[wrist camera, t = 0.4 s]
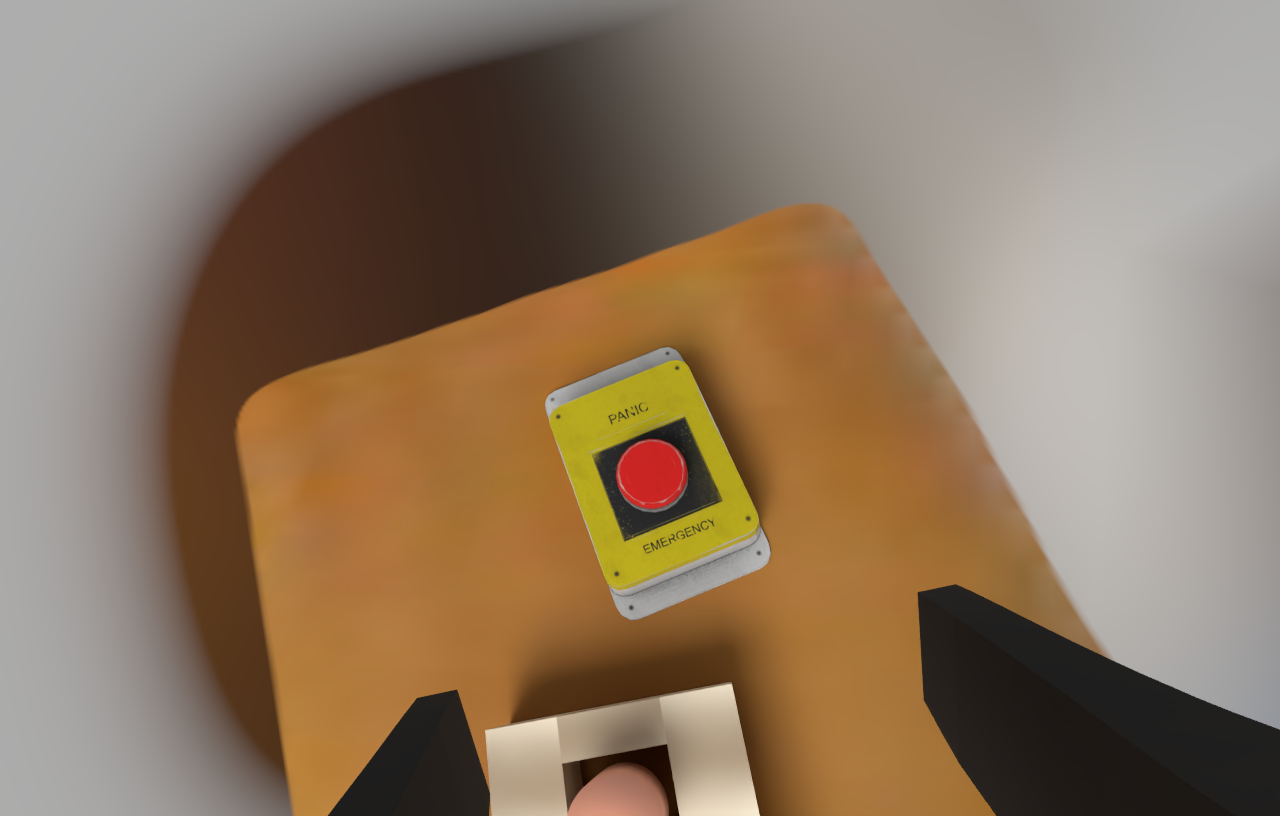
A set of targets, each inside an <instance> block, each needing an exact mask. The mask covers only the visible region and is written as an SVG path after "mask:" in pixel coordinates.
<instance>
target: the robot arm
mask: <svg viewBox="0 0 1280 816" xmlns="http://www.w3.org/2000/svg"><path fill="white" fill-rule="evenodd" d="M918 606H919V623H920V641H921V658H922V675H923V693H924V701H925V703H926V705H927V706H928V708H929V710H930V712H931V714H932V716H933V717H934V719H935V721H936V723H937V725H938V727H939V729H940V730H941V732H942V734H943V736H944V738H945V739H946V741H947V743H948V744H949V746H950V748H951V750H952V751H953V753H954V755H955V757H956V758H957V760H958V762H959V764H960V765H961V766H962V768H963V769H964V771H965V772H966V774H967V775H968V776H969V778H970V779H971V781H972V782H973V784H974V785H975V786H976V788H977V789H978V791H979V792H980V793H981V795H982V796H983V798H984V799H985V800H986V802H987V803H988V805H989V806H990V807H991V809H992V810H993V812H994V813H995V814H996V816H1280V730H1279V729H1276V728H1274V727H1271V726H1268V725H1266V724H1263V723H1260V722H1258V721H1255V720H1252V719H1250V718H1247V717H1244V716H1242V715H1239V714H1236V713H1233V712H1231V711H1228V710H1226V709H1223V708H1221V707H1218V706H1216V705H1213V704H1211V703H1208V702H1206V701H1204V700H1201V699H1199V698H1196V697H1194V696H1191V695H1189V694H1187V693H1185V692H1182V691H1180V690H1178V689H1175V688H1173V687H1171V686H1168V685H1166V684H1163V683H1161V682H1159V681H1157V680H1154V679H1152V678H1150V677H1148V676H1145V675H1143V674H1140V673H1138V672H1136V671H1134V670H1132V669H1130V668H1128V667H1125V666H1123V665H1121V664H1119V663H1117V662H1114V661H1112V660H1110V659H1108V658H1106V657H1104V656H1102V655H1100V654H1097V653H1095V652H1093V651H1091V650H1089V649H1087V648H1085V647H1083V646H1081V645H1079V644H1077V643H1075V642H1072V641H1070V640H1068V639H1066V638H1064V637H1062V636H1060V635H1058V634H1056V633H1054V632H1052V631H1050V630H1048V629H1046V628H1044V627H1042V626H1040V625H1038V624H1036V623H1034V622H1032V621H1030V620H1028V619H1026V618H1024V617H1022V616H1020V615H1018V614H1016V613H1014V612H1012V611H1010V610H1008V609H1006V608H1004V607H1002V606H1000V605H998V604H996V603H994V602H992V601H990V600H988V599H986V598H984V597H982V596H980V595H978V594H976V593H974V592H972V591H969V590H967V589H965V588H963V587H961V586H958V585H956V584H955V585H951V586H946V587H941V588H936V589H932V590H927V591H922V592H918ZM489 805H490V792H489V789H488V786H487V783H486V780H485V776H484V773H483V770H482V767H481V764H480V761H479V757H478V754H477V751H476V748H475V745H474V742H473V738H472V735H471V732H470V729H469V726H468V723H467V720H466V716H465V713H464V710H463V707H462V704H461V701H460V697H459V694H458V691H457V690H453V691H448V692H444V693H439V694H434V695H429V696H425V697H420V698H417V699H416V700H415V702H414V703H413V704H412V705H411V707H410V708H409V709H408V710H407V712H406V713H405V714H404V716H403V717H402V718H401V720H400V721H399V722H398V724H397V725H396V726H395V728H394V729H393V730H392V732H391V733H390V734H389V736H388V737H387V738H386V740H385V741H384V743H383V744H382V745H381V747H380V748H379V749H378V751H377V752H376V753H375V755H374V756H373V757H372V759H371V760H370V761H369V763H368V764H367V765H366V767H365V768H364V769H363V771H362V772H361V773H360V775H359V776H358V777H357V778H356V780H355V781H354V782H353V784H352V785H351V786H350V788H349V789H348V790H347V791H346V793H345V794H344V795H343V797H342V798H341V799H340V801H339V802H338V803H337V804H336V806H335V807H334V808H333V810H332V811H331V812H330V814H329V815H328V816H489Z"/></svg>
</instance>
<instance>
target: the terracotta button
mask: <svg viewBox="0 0 1280 816" xmlns="http://www.w3.org/2000/svg"><path fill="white" fill-rule="evenodd" d="M567 816H669V804H668V799H667V796H666V793H665V790H664V788H663V786H662V784H661V783H660V781H659V780H658V778H657V777H656V776H655V775H654V774H653V773H652V772H651V771H649V770H648V769H647V768H645V767H643V766H641V765H638V764H635V763H630V762H623V763H617V764H613V765H611V766H609V767H607V768H605V769H604V770H603V771H601V772H600V773H599V774H598V775H597V776H596V777H594V778H593V779H592V780H591V781H590V782H589V783H588V784H587V785H586V786H584V787H583V788H582V789H581V790H580V792H579V793H578V794H577V795H576V797H575V798H574V800H573V802H572V804H571V806H570V809H569V811H568V815H567Z"/></svg>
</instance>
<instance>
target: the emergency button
mask: <svg viewBox="0 0 1280 816" xmlns="http://www.w3.org/2000/svg"><path fill="white" fill-rule="evenodd" d="M545 406H546V413H547V415H548V418H549V423H550V426H551V429H552V431H553V434H554V437H555V440H556V443H557V445H558V448H559V451H560V454H561V457H562V459H563V462H564V465H565V468H566V471H567V473H568V476H569V479H570V482H571V485H572V487H573V490H574V493H575V496H576V499H577V501H578V504H579V507H580V510H581V512H582V515H583V518H584V521H585V524H586V526H587V529H588V532H589V535H590V538H591V540H592V543H593V546H594V549H595V552H596V554H597V557H598V560H599V563H600V566H601V568H602V571H603V574H604V577H605V579H606V582H607V583H608V585H609V588H610V591H611V594H612V597H613V599H614V602H615V605H616V607H617V609H618V610H619V612H620V613H621V615H622V616H624V617H626V618H628V619H629V620H638V619H641V618H644V617H646V616H649V615H651V614H653V613H656V612H658V611H660V610H663V609H665V608H668V607H670V606H672V605H675V604H677V603H680V602H682V601H684V600H687V599H689V598H692V597H694V596H696V595H699V594H701V593H704V592H706V591H708V590H711V589H713V588H716V587H718V586H720V585H723V584H725V583H727V582H730V581H732V580H735V579H737V578H739V577H742V576H744V575H747V574H749V573H751V572H754V571H756V570H759V569H761V568H762V567H763V566H765V565H766V564H767V563H768V561H769V557H770V554H771V552H770V547H769V543H768V541H767V538H766V536H765V534H764V532H763V530H762V528H761V526H760V522H759V516H758V513H757V511H756V509H755V507H754V505H753V503H752V501H751V499H750V496H749V494H748V492H747V490H746V488H745V486H744V484H743V481H742V479H741V477H740V475H739V473H738V471H737V469H736V467H735V464H734V462H733V460H732V458H731V456H730V454H729V452H728V449H727V447H726V445H725V443H724V441H723V439H722V437H721V435H720V432H719V430H718V428H717V426H716V424H715V422H714V420H713V417H712V415H711V413H710V411H709V409H708V407H707V405H706V403H705V400H704V398H703V396H702V394H701V392H700V390H699V388H698V385H697V383H696V381H695V379H694V377H693V375H692V373H691V371H690V368H689V367H688V365H687V364H686V363H685V362H684V361H683V359H682V357H681V355H680V354H679V353H678V352H677V350H675V349H672V348H670V347H665V348H660V349H657V350H655V351H652V352H650V353H647V354H645V355H642V356H640V357H638V358H635V359H633V360H630V361H628V362H625V363H623V364H620V365H618V366H615V367H613V368H610V369H608V370H605V371H603V372H600V373H598V374H595V375H593V376H590V377H588V378H585V379H583V380H580V381H578V382H575V383H573V384H570V385H568V386H565V387H563V388H560V389H558V390H555V391H554V392H552V393H551V394H550V395H548V398H547V400H546V402H545Z"/></svg>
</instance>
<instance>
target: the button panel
mask: <svg viewBox="0 0 1280 816" xmlns="http://www.w3.org/2000/svg"><path fill="white" fill-rule="evenodd" d="M485 732H486V745H487V758H488V771H489V784H490V797H491V810H492V816H567V815H568V811H569V809H570V806H571V804H572V802H573V800H574V798H575V797H576V795H577V794H578V793H579V792H580V790H581V789H582V788H583V783H582V775H581V767H580V760H584V759H589V758H595V757H600V756H605V755H611V754H616V753H621V752H627V751H632V750H637V749H643V748H648V747H654V746H659V745H664V744H667V746H668V752H669V757H670V763H671V769H672V775H673V781H674V787H675V792H676V798H677V804H678V810H679V816H760V814H759V810H758V805H757V800H756V795H755V791H754V786H753V781H752V776H751V772H750V767H749V762H748V758H747V753H746V748H745V743H744V739H743V734H742V729H741V725H740V720H739V715H738V710H737V706H736V701H735V696H734V692H733V687H732V683H731V682H727V683H722V684H716V685H711V686H706V687H700V688H695V689H690V690H685V691H679V692H674V693H669V694H664V695H658V696H653V697H648V698H643V699H637V700H632V701H627V702H621V703H616V704H611V705H606V706H600V707H595V708H590V709H585V710H579V711H574V712H569V713H564V714H558V715H553V716H548V717H543V718H537V719H532V720H527V721H521V722H516V723H511V724H507V725H503V726H500V727H496V728H492V729H489V730H485Z"/></svg>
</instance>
